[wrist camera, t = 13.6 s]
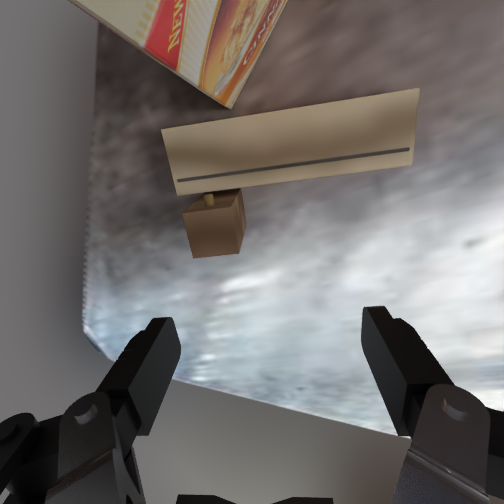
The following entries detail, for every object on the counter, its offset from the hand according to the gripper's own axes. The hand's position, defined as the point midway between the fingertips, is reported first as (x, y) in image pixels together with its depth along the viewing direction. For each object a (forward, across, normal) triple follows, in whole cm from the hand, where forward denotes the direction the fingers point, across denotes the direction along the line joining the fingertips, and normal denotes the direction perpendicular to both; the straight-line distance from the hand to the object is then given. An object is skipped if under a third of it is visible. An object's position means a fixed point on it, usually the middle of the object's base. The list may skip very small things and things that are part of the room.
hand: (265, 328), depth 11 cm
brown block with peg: (+19, +5, 0) cm, 20 cm away
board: (+19, -2, -6) cm, 20 cm away
